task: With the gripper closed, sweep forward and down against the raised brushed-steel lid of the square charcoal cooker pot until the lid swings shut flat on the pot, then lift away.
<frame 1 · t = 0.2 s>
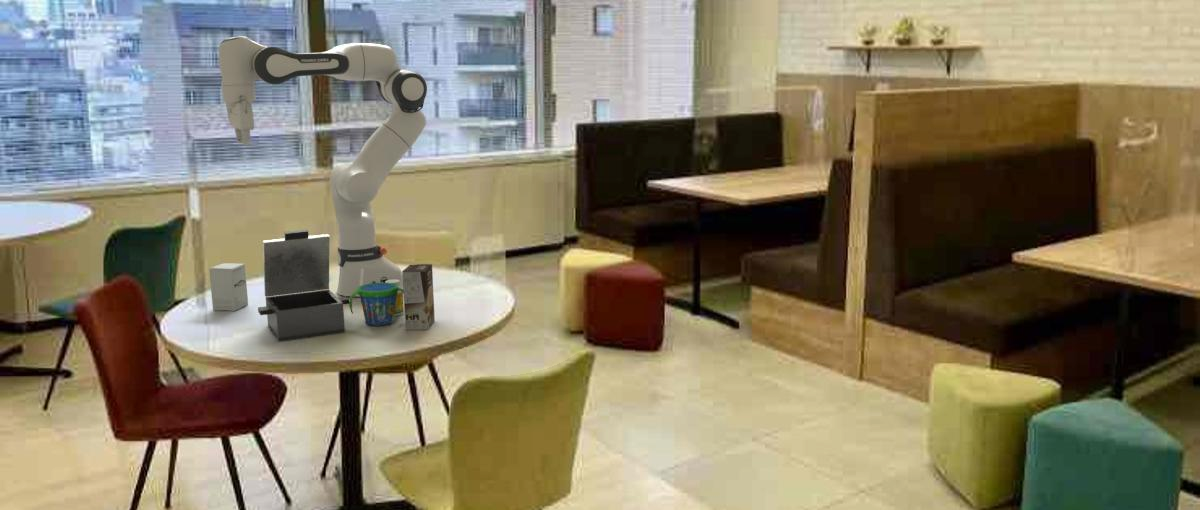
hand: (243, 144, 279), 47 cm above the table, fingers open, 8 cm apart
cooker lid: (296, 262, 265), point 17 cm above the table, hinge at 70.0°
cooker pot: (306, 328, 263), on the table
ramekin: (313, 278, 323), on the table
supplement box: (231, 308, 286), on the table
snack cup: (380, 323, 268), on the table
supplement bottle: (394, 314, 277), on the table
coffee box: (420, 326, 265), on the table
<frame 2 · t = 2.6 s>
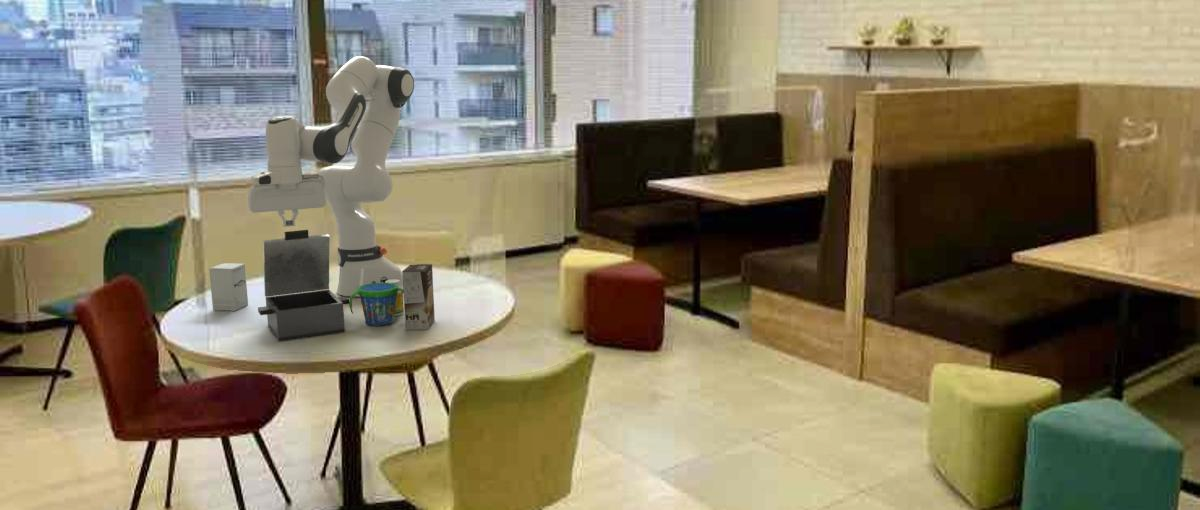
hand: (289, 226, 269), 26 cm above the table, fingers closed
nothing on the table moved.
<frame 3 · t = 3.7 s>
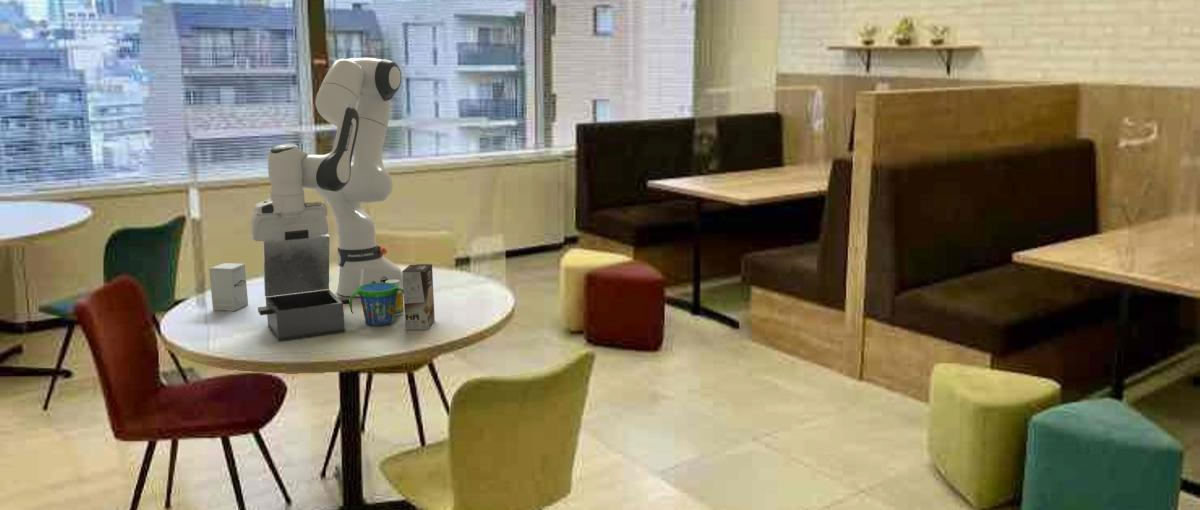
hand: (291, 253, 270), 18 cm above the table, fingers closed
nothing on the table moved.
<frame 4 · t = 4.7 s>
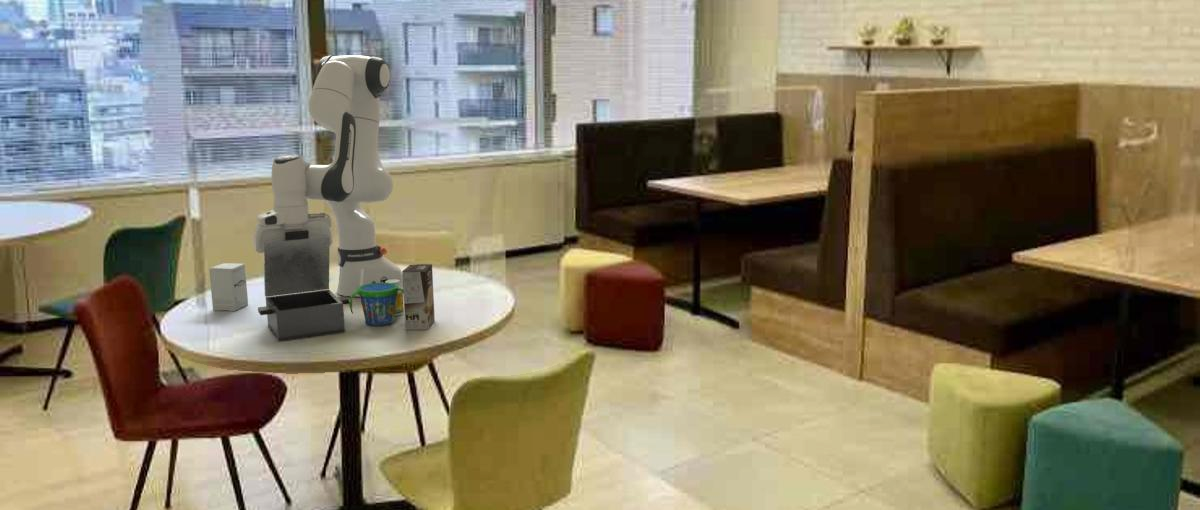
hand: (295, 265, 266), 16 cm above the table, fingers closed, pressing on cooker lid
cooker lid: (297, 262, 264), point 17 cm above the table, hinge at 69.2°, touching gripper
everything else where it was.
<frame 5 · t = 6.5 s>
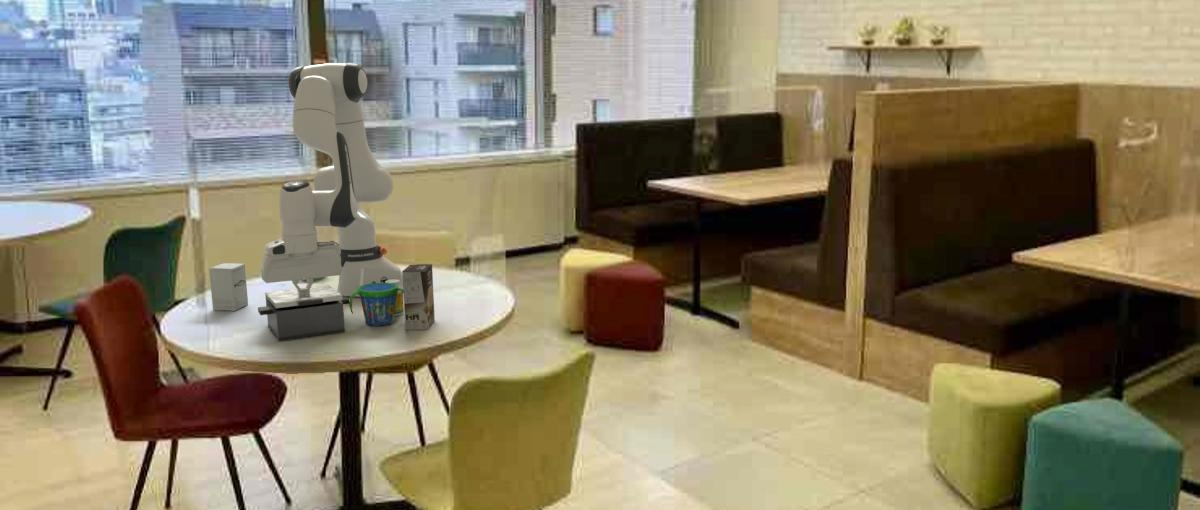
hand: (303, 295, 259), 10 cm above the table, fingers closed, pressing on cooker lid
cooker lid: (304, 296, 260), point 9 cm above the table, hinge at 2.7°, touching gripper
everything else where it was.
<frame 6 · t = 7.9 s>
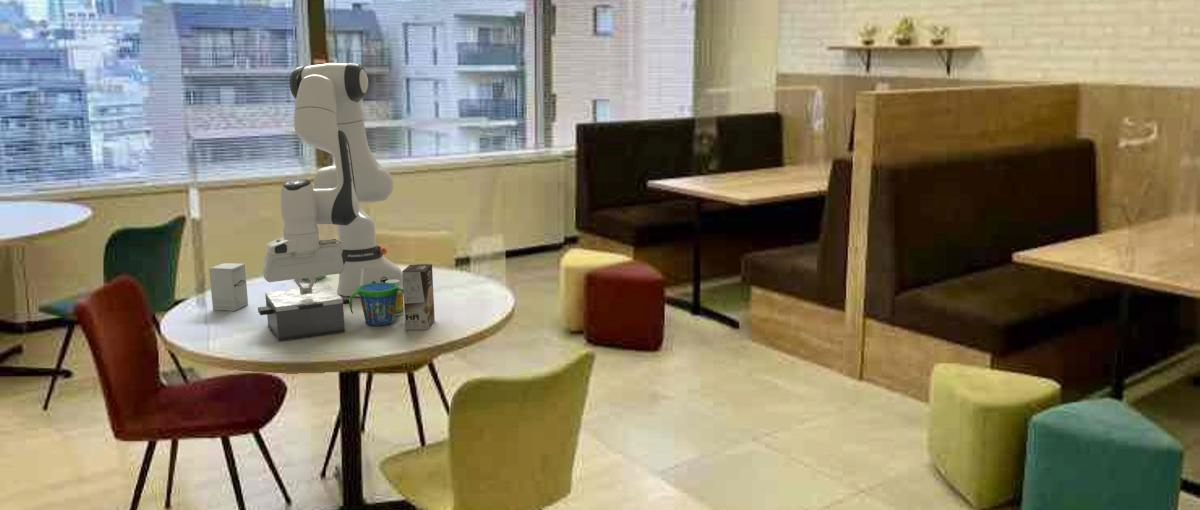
hand: (306, 293, 258), 10 cm above the table, fingers closed
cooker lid: (304, 298, 260), point 9 cm above the table, hinge at -0.4°, touching cooker pot
everything else where it was.
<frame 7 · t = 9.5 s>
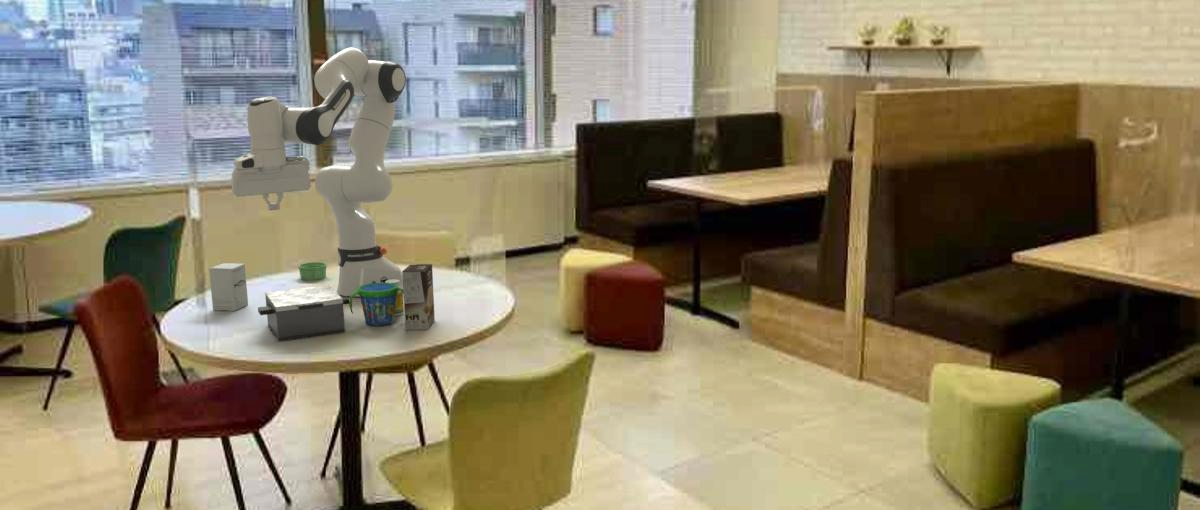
hand: (274, 209, 264), 31 cm above the table, fingers closed
nothing on the table moved.
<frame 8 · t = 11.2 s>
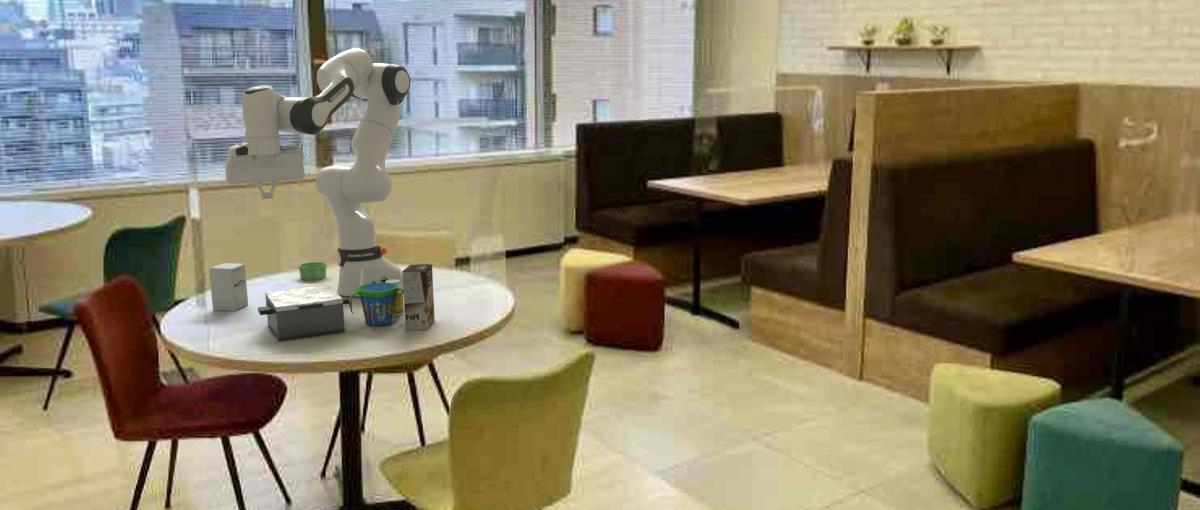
hand: (267, 198, 266), 34 cm above the table, fingers closed
nothing on the table moved.
at the end: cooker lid at +0° (first picture: +70°) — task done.
